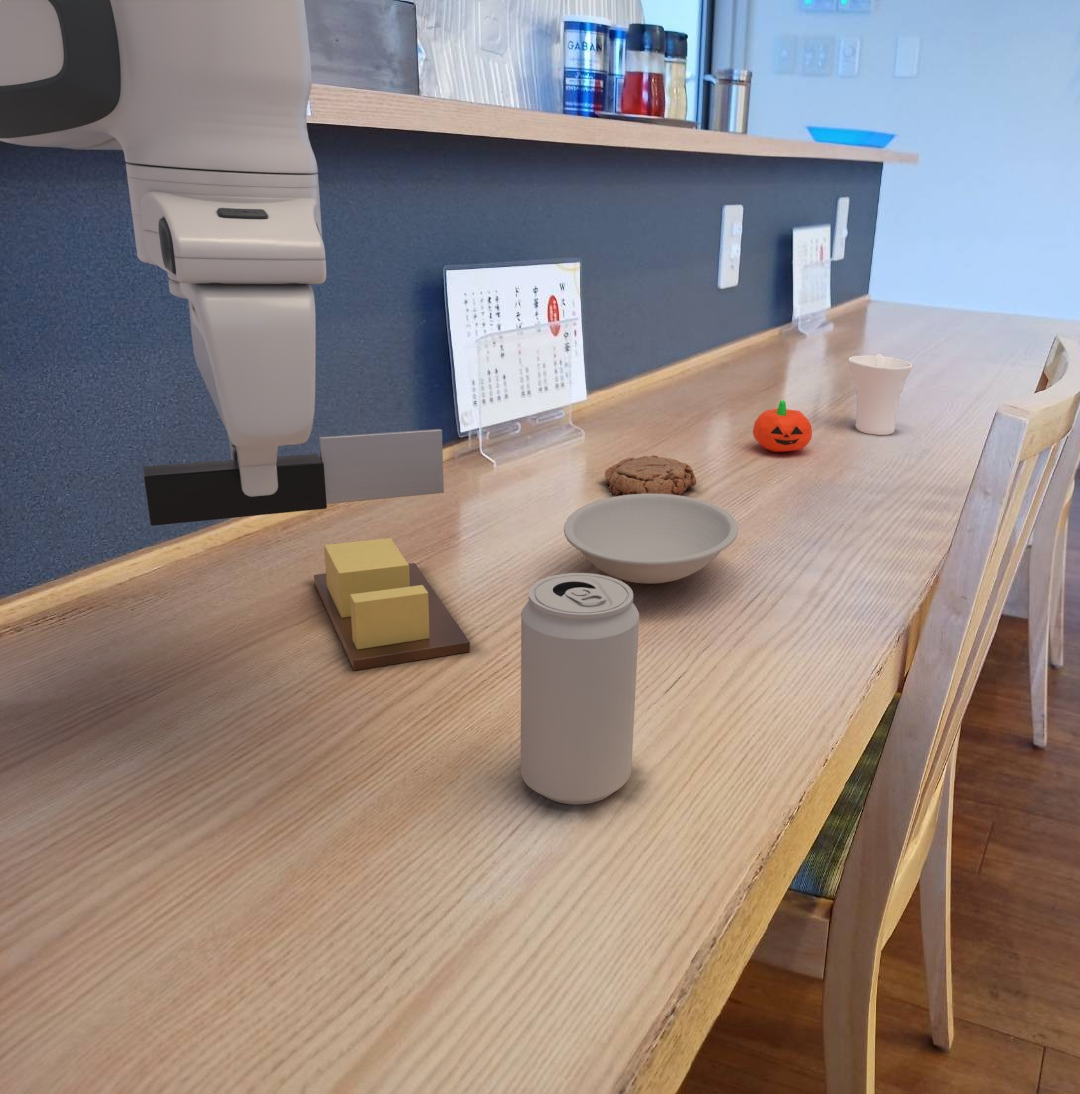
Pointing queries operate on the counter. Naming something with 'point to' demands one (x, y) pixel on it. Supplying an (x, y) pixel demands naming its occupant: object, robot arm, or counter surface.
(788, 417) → the pumpkin
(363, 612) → the butter slice
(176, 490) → the knife
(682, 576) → the dish
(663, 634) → the counter surface
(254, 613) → the counter surface
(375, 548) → the butter
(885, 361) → the cup
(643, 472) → the cookie
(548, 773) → the beverage can
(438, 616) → the butter board
